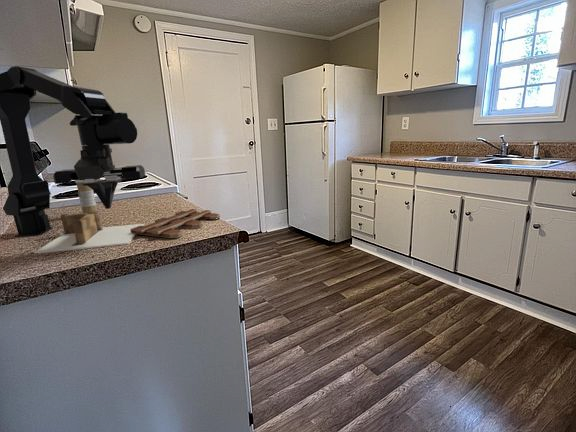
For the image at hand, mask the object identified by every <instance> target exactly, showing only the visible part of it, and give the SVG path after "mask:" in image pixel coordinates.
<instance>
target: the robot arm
mask: <svg viewBox="0 0 576 432" xmlns="http://www.w3.org/2000/svg"><path fill="white" fill-rule="evenodd" d="M37 92H38V93H39V94H42V95H45V96H47V97H49V98H53V99H55V100H57V101H59V102H60V103H61V106H62V107H64V108H65V109H66V110H68V112H71V113H73V114H74V116H73V118H72V119H71V120H70V121H69V125H70V126H72V127H76V128H77V132H78V136H79V139H80V140H79V141H80V144H81V149H80V153H79V154H80V159H78V160H77V162H76V163H75V164H74V165H73V168H71V169H62V170H57V171H54V173H53V176H52V178H53V182H54V184H55V185H57V184H59V185H61V184H70V183H71V182H72V181H75V180H83V181H84V183H83V185H84V186H88V187H90V188H91V189H92V190H93V192H94V194H96V196H97V197H98V198H99V200H100V202H101V203H102V205H103V206H104V208H105V209H106V210H109V209H111V208H112V203H113V200H114V196H115V191H116V189H117V186H118V183H120V182H122V181H123V178H124V179H125V180H135V179H136V180H137V179H142V178H144V177H146V171H145V168H144V166H143V165H142V164H140V165H139V164H137V165H126V166H123V167H121V169H120V168H119V169H116V166H115V164H114V162H113V157H112V153H113V151H112V150H113V149H112V148H111V145H125V144H133V143H134V142H135V141H136V140H137V137H138V129H137V127H136V125H135V124H134V122H133V120H131V119H130V118H129V117H128V116H129V115H128V113H127V112H121V111H120V112H116V111H115V110H114V108H113V106H112V105H110V103H109V102H108V101H107V99H106V98H105V94H104V92H101V91H100V90H97V89H92V88H88V87H87V88H85V87H80V86H74V85H71V84H69V83H66V82H63V81H61V80H59V79H57V78H54V77H51V76H49V75H46V74H44V73H42V72H40V71H38V70H36V69H35V68H30V67H24V66H17V65H15V66H11V67H9V69H8V70H7V71H4V72H0V125H1V130H2V133H3V138H4V142H5V146H6V152H7V157H8V160H9V164H10V168H11V172H12V176H11V179H10V181H9V183H8V184H7V192H8V193H7V194H8V196H7V197H6V200H5V203H4V205H3V207H2V210H3V211H4V214H5V215H6V216H12V217H13V221H14V224H15V227H16V231H17V233H16V234H14V237H27V236H28V237H29V236H38V235H42V234H44V233H46V232H48V231H49V230H52V229H53V226H51V223H50V219H49V216H48V214H46V212H45V210H47V209H48V210H49V209H50V208H51V207H50V205H51V203H50V202H51V195H52V194H51V191H50V188H49V182H48V180H46V179H45V180H44V179H42V178H41V177H40V176H39V175H38V173H37V169H36V164H35V158H34V155H33V150H32V145H31V141H30V136H29V132H28V126H27V122H26V118H27V117H28V115H29V113H30V111H31V100H32V99H33V98H34V97H35V96H37ZM122 177H123V178H122ZM102 178H103V179H102Z"/></svg>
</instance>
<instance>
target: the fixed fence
mask: <svg viewBox="0 0 576 432" xmlns="http://www.w3.org/2000/svg"><path fill="white" fill-rule="evenodd" d="M93 213H94V216H95V221H96V226H97V230H98V231H99V230H101V228H102V226H101V221H100V216H99V212H98V210H97V211H93V212H88V213H83V212H82V213H71V214H70V213H62V214H60V218H61V222H62V227H63V233H74V229H73V225H72V221H76V220H80V219H81V218H83V217H84V216H86V215H87V214H93Z"/></svg>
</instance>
